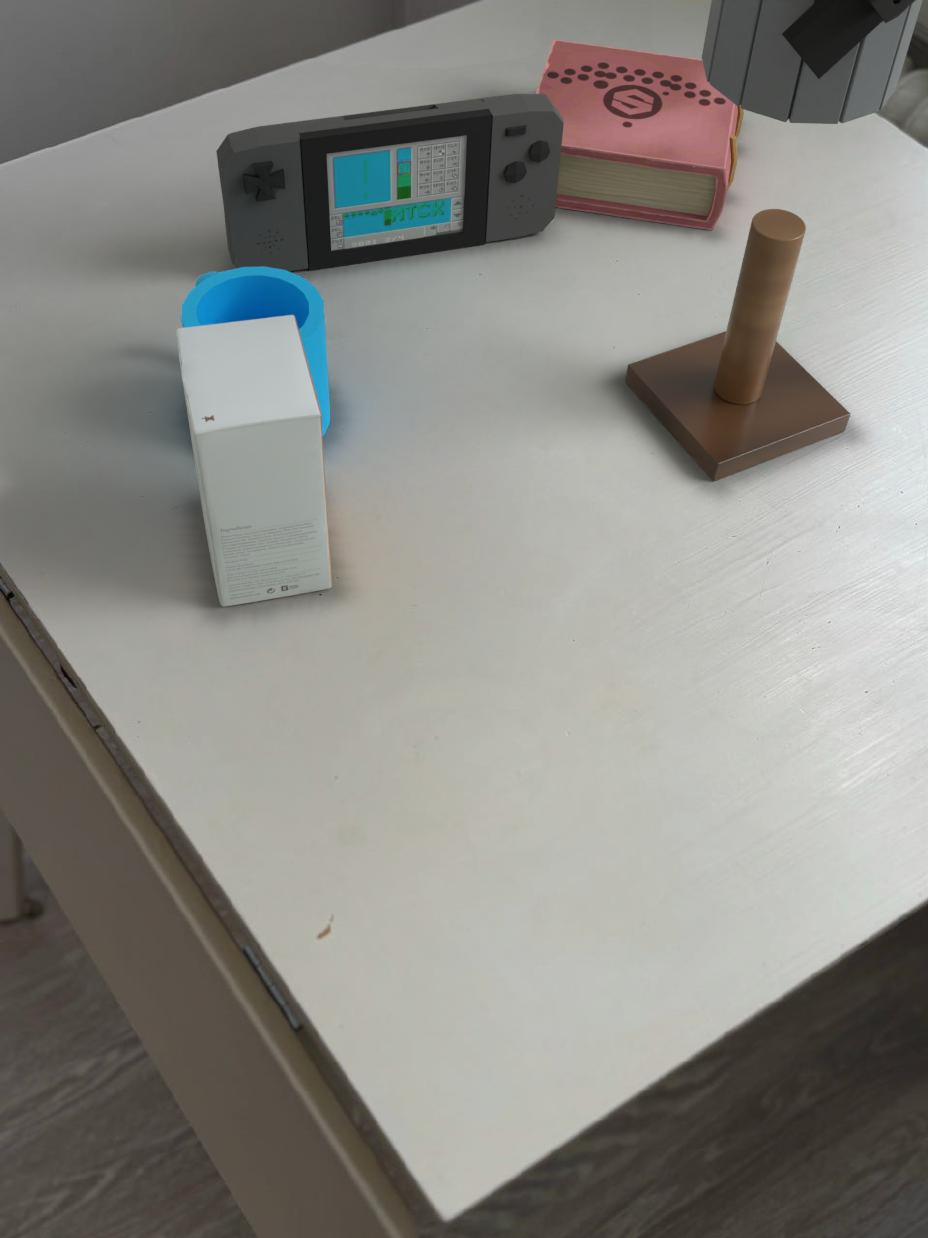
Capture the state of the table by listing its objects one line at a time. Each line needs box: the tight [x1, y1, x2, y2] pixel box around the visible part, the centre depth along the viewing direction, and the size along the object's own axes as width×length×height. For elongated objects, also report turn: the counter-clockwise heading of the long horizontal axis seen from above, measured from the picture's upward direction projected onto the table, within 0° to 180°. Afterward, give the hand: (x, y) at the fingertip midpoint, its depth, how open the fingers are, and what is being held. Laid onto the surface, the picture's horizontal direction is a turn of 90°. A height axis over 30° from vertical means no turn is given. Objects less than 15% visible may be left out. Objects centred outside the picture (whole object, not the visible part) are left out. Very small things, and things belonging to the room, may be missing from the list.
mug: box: [180, 266, 331, 437], centre depth 82 cm, size 12×8×8 cm
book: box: [535, 39, 745, 231], centre depth 101 cm, size 14×15×5 cm
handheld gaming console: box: [215, 93, 564, 272], centre depth 91 cm, size 23×3×10 cm, turn 107°
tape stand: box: [624, 208, 851, 482], centre depth 81 cm, size 10×10×14 cm
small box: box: [175, 315, 333, 607], centre depth 72 cm, size 8×6×13 cm
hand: (754, 0), depth 62 cm, fingers closed on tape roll, 9 cm apart
